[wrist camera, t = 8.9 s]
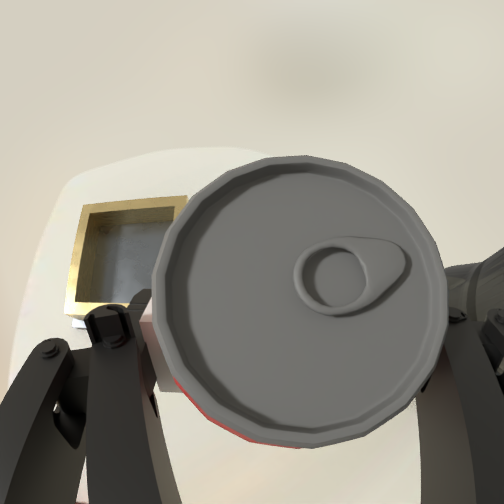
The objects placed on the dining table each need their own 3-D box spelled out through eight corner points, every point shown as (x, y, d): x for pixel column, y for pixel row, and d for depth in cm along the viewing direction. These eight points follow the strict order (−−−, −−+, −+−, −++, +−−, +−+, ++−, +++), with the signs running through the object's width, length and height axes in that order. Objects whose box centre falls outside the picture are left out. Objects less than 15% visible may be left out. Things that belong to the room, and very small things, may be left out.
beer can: (344, 385, 15) (504, 377, 4) (229, 420, 14) (175, 513, 3) (309, 278, 17) (384, 122, 6) (199, 308, 17) (110, 176, 6)
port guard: (200, 207, 34) (195, 188, 30) (197, 332, 28) (190, 325, 25) (92, 216, 34) (79, 199, 30) (75, 328, 28) (57, 320, 24)
